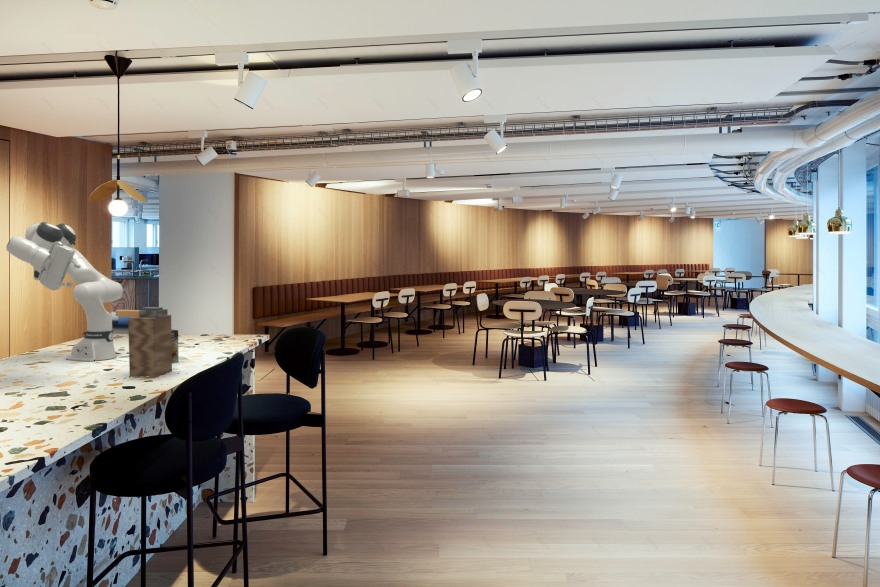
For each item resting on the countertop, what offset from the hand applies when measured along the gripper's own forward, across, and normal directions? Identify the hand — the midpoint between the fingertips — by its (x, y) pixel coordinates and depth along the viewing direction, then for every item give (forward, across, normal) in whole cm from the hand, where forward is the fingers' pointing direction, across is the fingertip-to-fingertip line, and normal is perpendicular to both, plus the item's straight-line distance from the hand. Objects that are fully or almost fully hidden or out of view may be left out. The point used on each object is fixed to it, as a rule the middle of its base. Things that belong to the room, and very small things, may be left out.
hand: (75, 276), depth 257 cm
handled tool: (+27, +8, -9) cm, 30 cm away
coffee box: (+42, +34, -29) cm, 61 cm away
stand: (+45, +28, -4) cm, 53 cm away
